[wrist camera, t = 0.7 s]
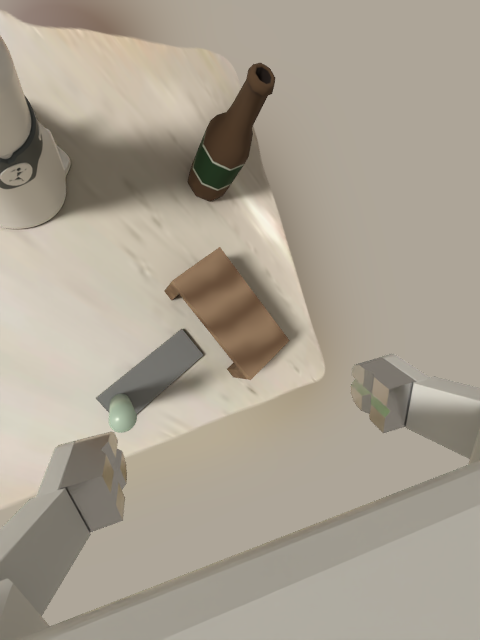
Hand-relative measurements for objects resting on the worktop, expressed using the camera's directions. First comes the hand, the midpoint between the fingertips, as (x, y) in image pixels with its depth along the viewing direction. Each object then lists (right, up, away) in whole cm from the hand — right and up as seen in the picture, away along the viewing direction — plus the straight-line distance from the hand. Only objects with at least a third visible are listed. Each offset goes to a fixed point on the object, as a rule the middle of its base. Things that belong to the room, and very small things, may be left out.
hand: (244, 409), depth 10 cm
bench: (-4, +3, +45) cm, 45 cm away
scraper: (-15, -6, +39) cm, 42 cm away
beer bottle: (-7, +30, +47) cm, 56 cm away
